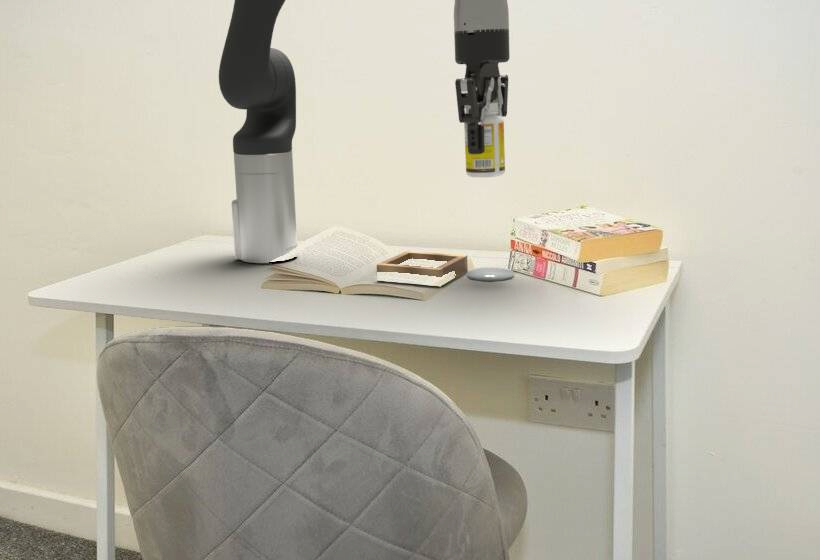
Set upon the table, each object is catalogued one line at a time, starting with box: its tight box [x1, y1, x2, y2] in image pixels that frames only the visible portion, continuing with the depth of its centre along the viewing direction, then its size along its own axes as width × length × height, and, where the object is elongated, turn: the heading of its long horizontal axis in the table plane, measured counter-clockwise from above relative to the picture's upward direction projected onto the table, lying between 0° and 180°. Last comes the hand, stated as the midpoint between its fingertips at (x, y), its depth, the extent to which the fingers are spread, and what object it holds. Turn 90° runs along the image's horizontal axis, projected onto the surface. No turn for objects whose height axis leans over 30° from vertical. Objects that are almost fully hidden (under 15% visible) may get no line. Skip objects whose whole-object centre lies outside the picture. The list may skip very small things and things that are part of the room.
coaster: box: [465, 267, 515, 282], centre depth 140 cm, size 7×7×1 cm
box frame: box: [376, 250, 469, 279], centre depth 140 cm, size 10×10×2 cm
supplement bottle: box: [463, 102, 506, 178], centre depth 135 cm, size 6×6×10 cm
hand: (484, 150), depth 135 cm, fingers closed on supplement bottle, 5 cm apart
